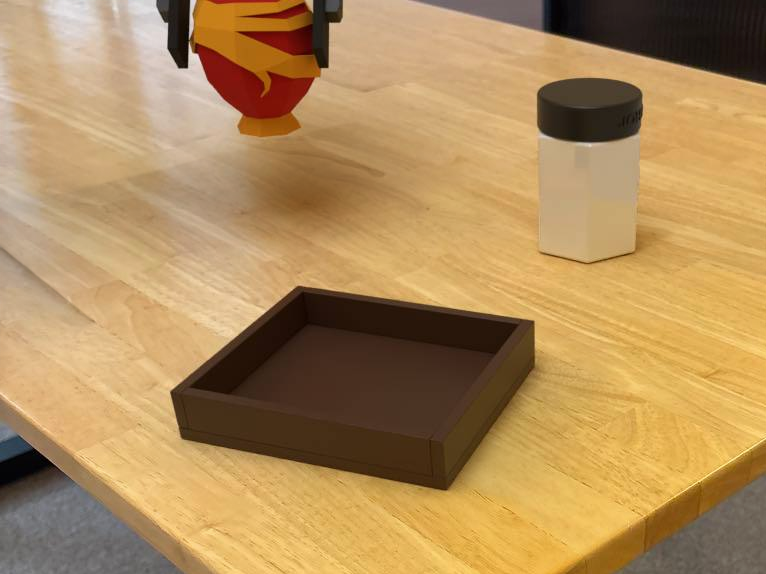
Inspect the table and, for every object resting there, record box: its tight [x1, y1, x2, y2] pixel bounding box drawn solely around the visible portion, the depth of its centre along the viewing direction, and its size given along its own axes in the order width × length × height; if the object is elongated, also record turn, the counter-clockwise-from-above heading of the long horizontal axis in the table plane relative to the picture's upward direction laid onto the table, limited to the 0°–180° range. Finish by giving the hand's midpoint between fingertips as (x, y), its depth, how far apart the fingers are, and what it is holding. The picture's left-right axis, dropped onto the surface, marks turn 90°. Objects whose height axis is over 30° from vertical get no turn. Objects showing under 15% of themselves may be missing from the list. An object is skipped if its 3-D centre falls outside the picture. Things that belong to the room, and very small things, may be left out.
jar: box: [536, 77, 644, 264], centre depth 86 cm, size 9×8×12 cm
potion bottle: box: [189, 0, 322, 138], centre depth 84 cm, size 10×10×15 cm
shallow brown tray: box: [169, 285, 536, 491], centre depth 69 cm, size 18×16×3 cm
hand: (249, 58), depth 83 cm, fingers closed on potion bottle, 10 cm apart
